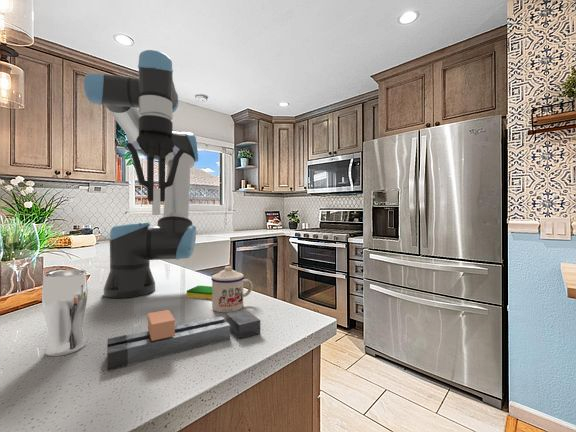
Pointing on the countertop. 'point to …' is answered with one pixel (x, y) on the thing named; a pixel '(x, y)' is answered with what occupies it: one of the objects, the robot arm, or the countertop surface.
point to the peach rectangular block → (161, 325)
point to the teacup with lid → (228, 290)
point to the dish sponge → (200, 292)
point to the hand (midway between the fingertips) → (156, 214)
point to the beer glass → (64, 310)
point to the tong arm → (178, 329)
